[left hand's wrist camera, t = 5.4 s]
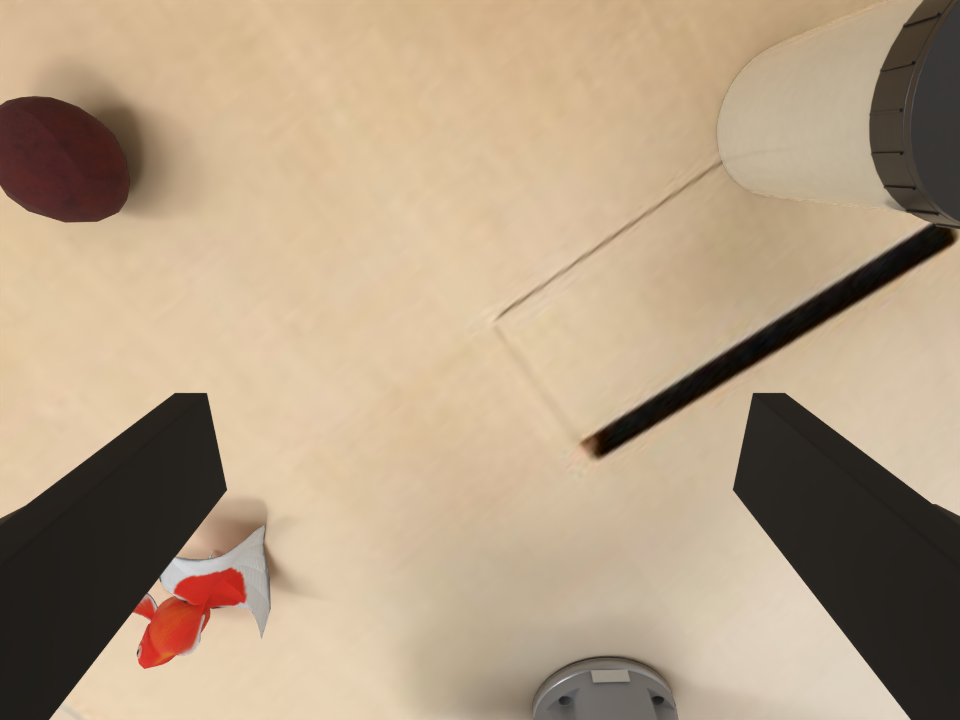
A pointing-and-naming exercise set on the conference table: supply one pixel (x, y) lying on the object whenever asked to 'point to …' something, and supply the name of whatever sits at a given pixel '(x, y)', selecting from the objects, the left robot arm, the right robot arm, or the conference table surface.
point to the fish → (204, 598)
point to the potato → (60, 161)
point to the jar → (813, 112)
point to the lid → (921, 115)
